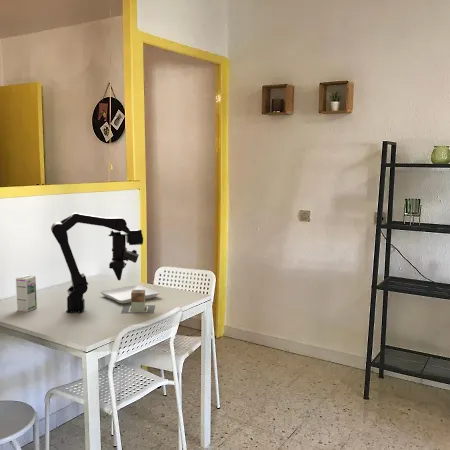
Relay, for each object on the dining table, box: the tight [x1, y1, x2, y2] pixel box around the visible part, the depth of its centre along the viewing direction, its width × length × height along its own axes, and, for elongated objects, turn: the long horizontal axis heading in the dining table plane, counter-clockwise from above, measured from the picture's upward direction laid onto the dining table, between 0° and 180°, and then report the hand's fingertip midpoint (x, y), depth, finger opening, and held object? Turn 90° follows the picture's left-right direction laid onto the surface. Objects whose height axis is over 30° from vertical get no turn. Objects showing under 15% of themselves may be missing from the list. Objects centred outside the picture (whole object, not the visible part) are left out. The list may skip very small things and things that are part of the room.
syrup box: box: [15, 274, 38, 313], centre depth 209 cm, size 6×6×14 cm
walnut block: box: [130, 290, 146, 303], centre depth 212 cm, size 6×6×4 cm
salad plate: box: [99, 284, 160, 305], centre depth 232 cm, size 21×21×3 cm
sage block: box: [130, 300, 146, 311], centre depth 212 cm, size 6×6×4 cm
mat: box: [120, 304, 156, 315], centre depth 212 cm, size 14×12×1 cm
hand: (119, 280), depth 216 cm, fingers closed
